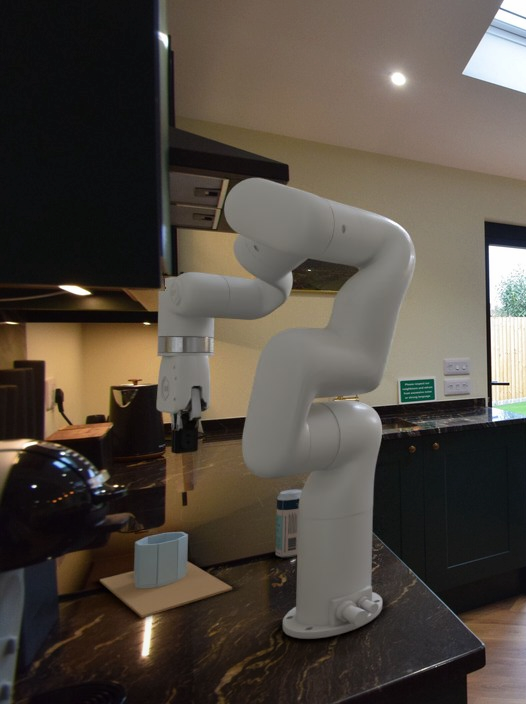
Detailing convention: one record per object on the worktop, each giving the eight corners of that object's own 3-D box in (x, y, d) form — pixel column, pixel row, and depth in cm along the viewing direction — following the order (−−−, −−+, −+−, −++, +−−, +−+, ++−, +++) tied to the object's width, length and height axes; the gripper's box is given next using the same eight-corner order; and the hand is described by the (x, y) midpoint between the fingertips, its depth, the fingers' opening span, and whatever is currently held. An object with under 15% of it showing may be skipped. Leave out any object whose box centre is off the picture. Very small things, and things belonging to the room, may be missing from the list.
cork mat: (232, 589, 85) (232, 587, 85) (141, 618, 76) (141, 615, 76) (183, 560, 97) (183, 558, 97) (99, 581, 88) (99, 579, 88)
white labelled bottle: (311, 550, 103) (312, 488, 103) (292, 559, 98) (294, 495, 98) (288, 549, 103) (290, 487, 103) (269, 558, 98) (270, 494, 99)
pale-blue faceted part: (141, 591, 83) (121, 575, 89) (190, 578, 88) (168, 563, 95) (143, 547, 83) (122, 534, 90) (192, 536, 89) (169, 524, 95)
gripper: (143, 348, 93) (141, 451, 92) (174, 346, 85) (172, 459, 84) (196, 349, 99) (194, 445, 99) (229, 347, 91) (228, 452, 91)
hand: (184, 452), depth 92 cm, fingers closed
